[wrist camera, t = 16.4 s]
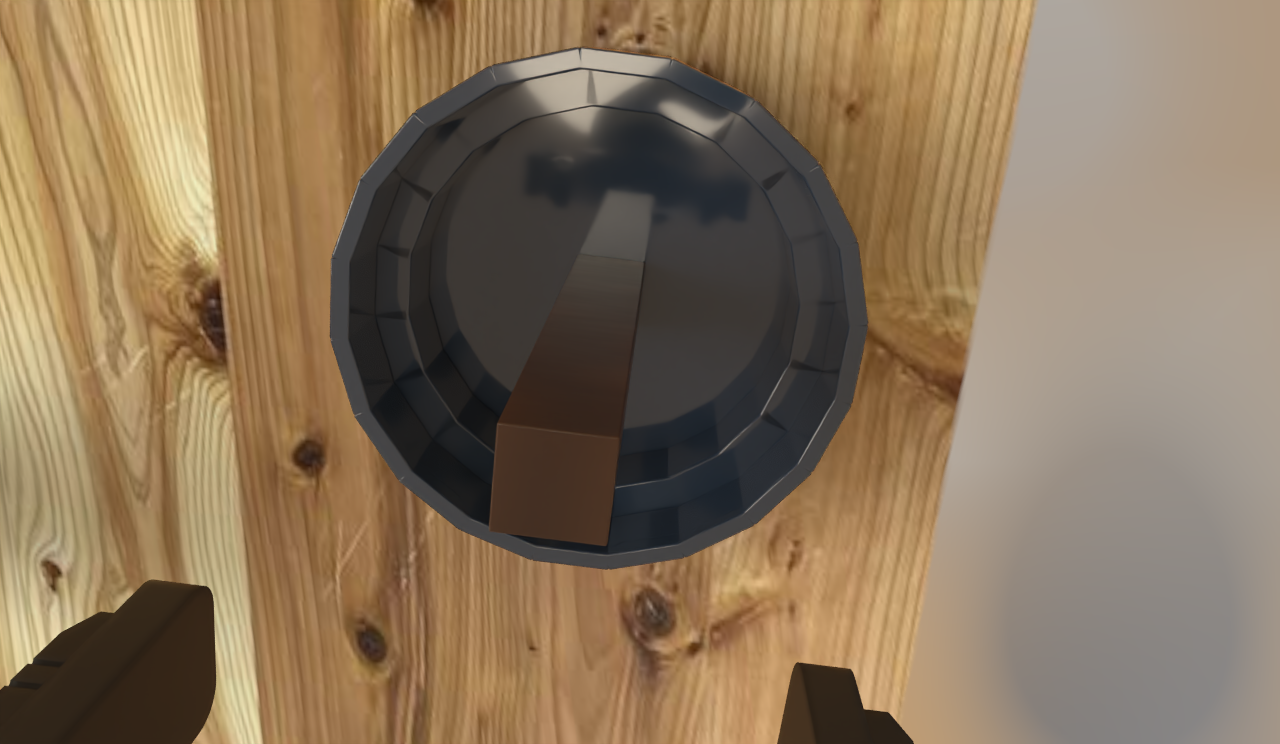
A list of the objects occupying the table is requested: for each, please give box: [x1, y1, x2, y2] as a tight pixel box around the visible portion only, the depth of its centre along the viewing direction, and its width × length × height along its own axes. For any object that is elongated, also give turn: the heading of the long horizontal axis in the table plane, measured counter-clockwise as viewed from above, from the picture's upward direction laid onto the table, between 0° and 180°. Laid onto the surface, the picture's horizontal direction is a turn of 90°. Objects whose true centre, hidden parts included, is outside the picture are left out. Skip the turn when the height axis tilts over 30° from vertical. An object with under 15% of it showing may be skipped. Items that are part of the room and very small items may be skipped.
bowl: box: [330, 47, 868, 570], centre depth 32 cm, size 16×16×6 cm
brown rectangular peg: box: [489, 254, 645, 546], centre depth 26 cm, size 2×2×16 cm
